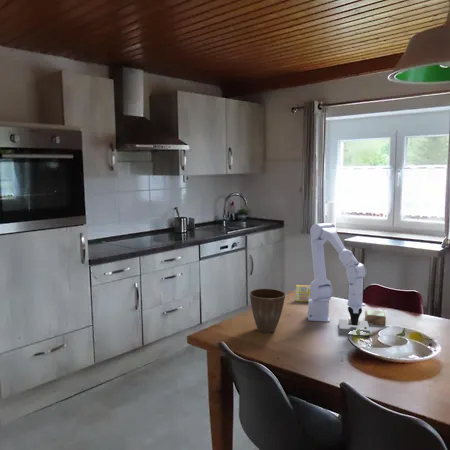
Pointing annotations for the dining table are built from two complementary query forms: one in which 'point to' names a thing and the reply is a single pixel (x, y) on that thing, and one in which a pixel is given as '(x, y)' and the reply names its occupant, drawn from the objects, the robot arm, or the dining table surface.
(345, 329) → the slate notch board
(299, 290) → the candy box
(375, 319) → the walnut stand
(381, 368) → the dining table surface
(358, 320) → the cream block
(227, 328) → the dining table surface
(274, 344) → the dining table surface
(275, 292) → the plant pot
